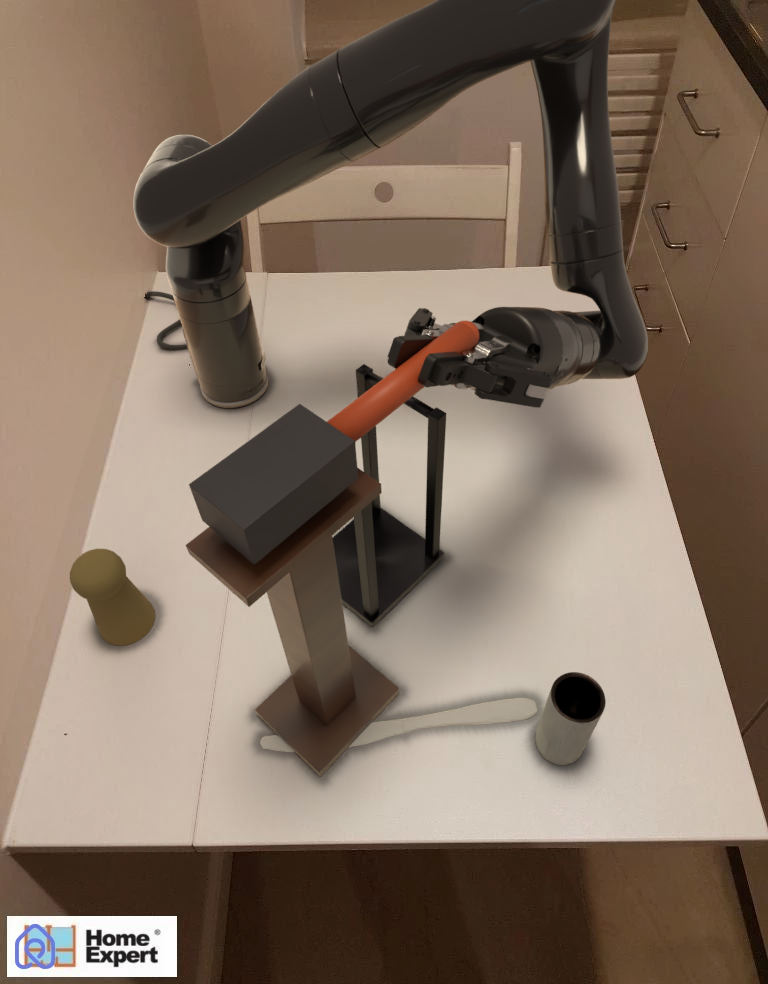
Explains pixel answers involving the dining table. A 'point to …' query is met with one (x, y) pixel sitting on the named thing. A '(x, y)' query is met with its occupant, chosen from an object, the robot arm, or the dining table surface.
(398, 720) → the butter knife
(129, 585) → the olive pawn
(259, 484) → the orange-handled mallet
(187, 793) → the dining table surface
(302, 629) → the wooden pedestal stand
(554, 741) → the planter
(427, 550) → the black rack
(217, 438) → the dining table surface
